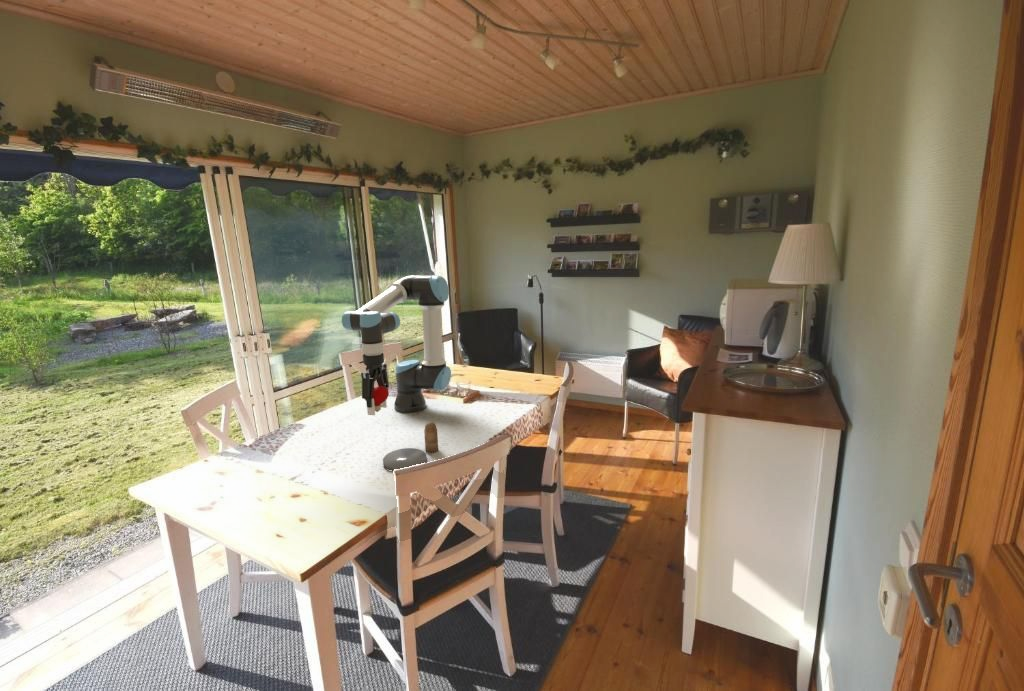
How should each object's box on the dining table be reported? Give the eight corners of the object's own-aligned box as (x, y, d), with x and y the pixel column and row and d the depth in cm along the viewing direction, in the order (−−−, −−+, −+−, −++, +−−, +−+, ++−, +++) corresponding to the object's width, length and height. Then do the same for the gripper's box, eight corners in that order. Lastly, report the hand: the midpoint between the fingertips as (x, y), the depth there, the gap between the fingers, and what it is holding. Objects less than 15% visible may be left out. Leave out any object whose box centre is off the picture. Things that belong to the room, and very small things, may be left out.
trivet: (396, 449, 189) (395, 446, 189) (433, 454, 185) (433, 450, 185) (374, 469, 174) (374, 465, 174) (414, 474, 170) (414, 470, 170)
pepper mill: (428, 447, 191) (427, 419, 188) (440, 448, 190) (438, 420, 187) (423, 452, 187) (421, 424, 184) (435, 454, 185) (433, 425, 183)
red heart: (364, 416, 178) (362, 390, 176) (365, 409, 185) (363, 384, 183) (389, 413, 181) (388, 388, 178) (389, 407, 187) (388, 382, 185)
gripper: (379, 346, 188) (383, 401, 193) (347, 359, 169) (353, 419, 174) (396, 347, 186) (399, 402, 191) (366, 360, 167) (371, 421, 172)
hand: (377, 410), depth 183 cm, fingers closed on red heart, 7 cm apart
